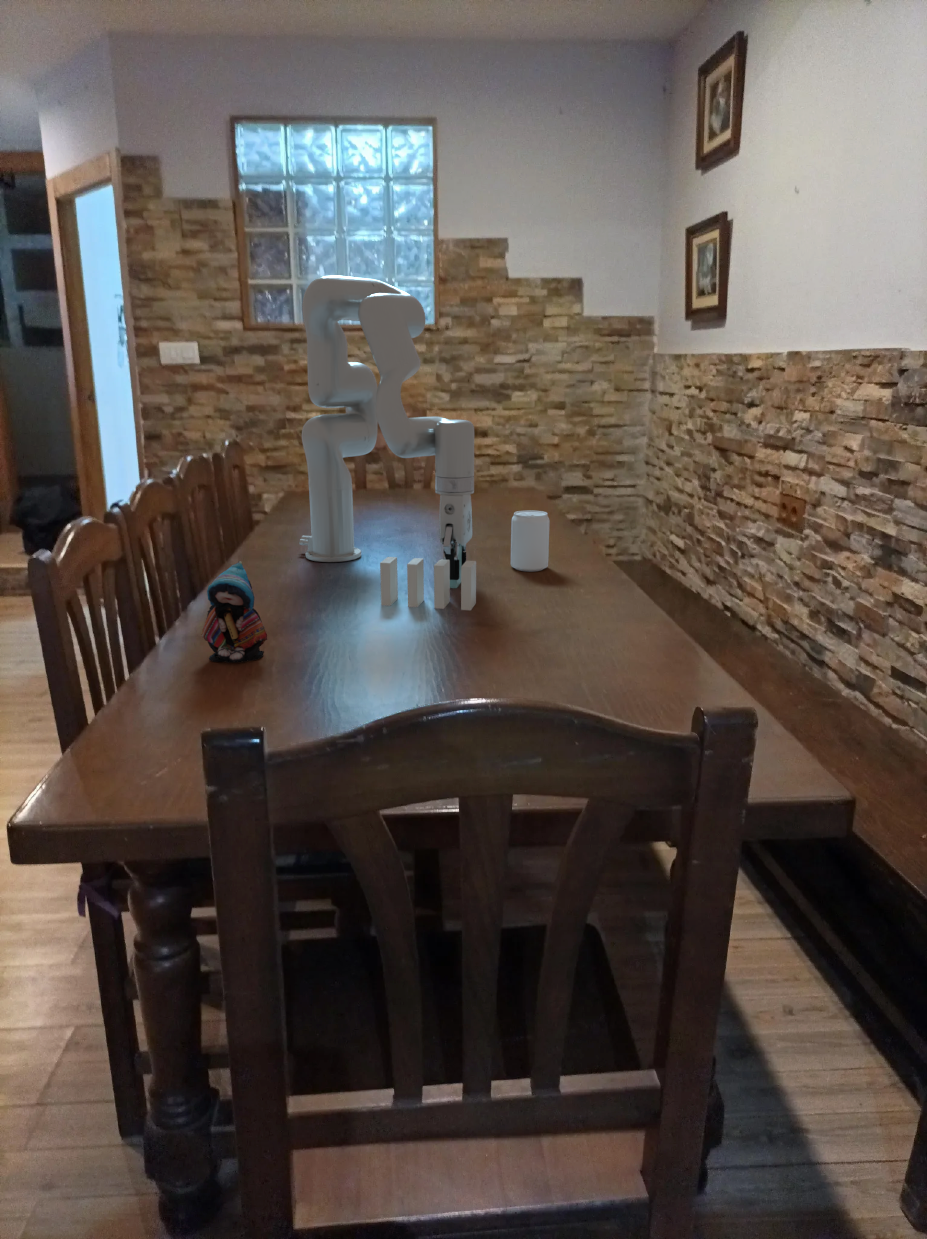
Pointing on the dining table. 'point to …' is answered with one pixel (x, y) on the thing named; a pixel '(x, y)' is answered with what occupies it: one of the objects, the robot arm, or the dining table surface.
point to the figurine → (233, 618)
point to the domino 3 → (441, 583)
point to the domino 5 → (468, 585)
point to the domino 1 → (389, 581)
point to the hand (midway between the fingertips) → (454, 574)
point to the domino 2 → (415, 582)
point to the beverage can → (529, 540)
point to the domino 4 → (457, 582)
